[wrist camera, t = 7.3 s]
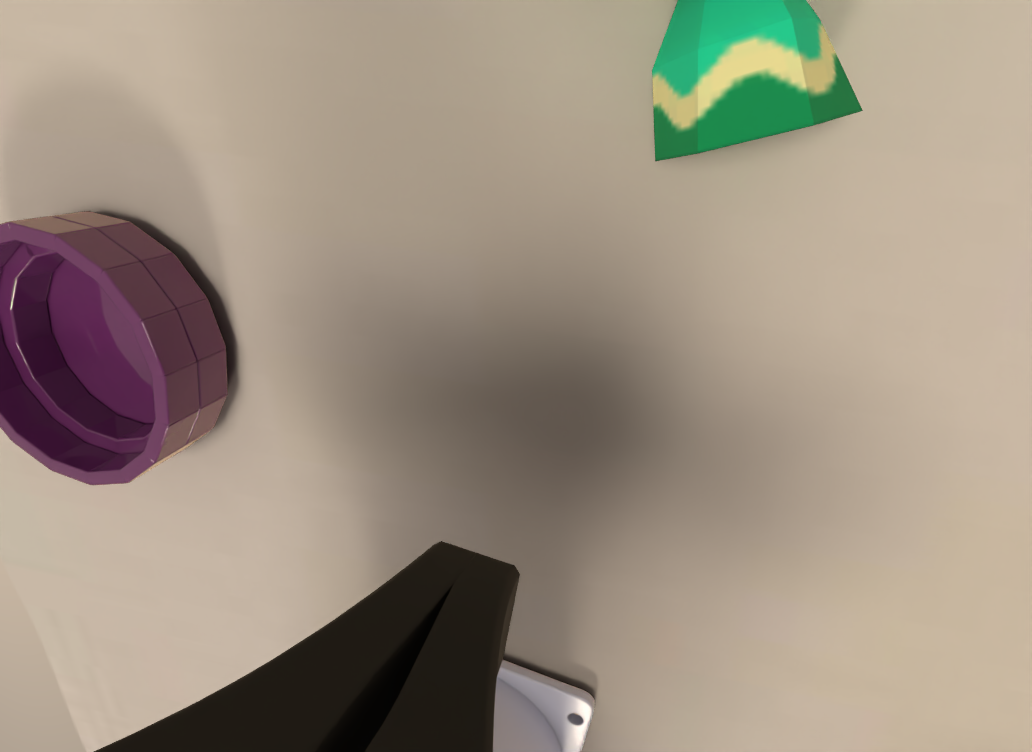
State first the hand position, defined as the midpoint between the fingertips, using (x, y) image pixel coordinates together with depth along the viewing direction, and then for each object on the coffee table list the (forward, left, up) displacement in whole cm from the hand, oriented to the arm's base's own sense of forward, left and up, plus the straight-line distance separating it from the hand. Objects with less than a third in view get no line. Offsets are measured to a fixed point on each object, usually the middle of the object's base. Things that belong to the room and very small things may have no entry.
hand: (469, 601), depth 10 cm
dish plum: (-2, +15, -8) cm, 17 cm away
